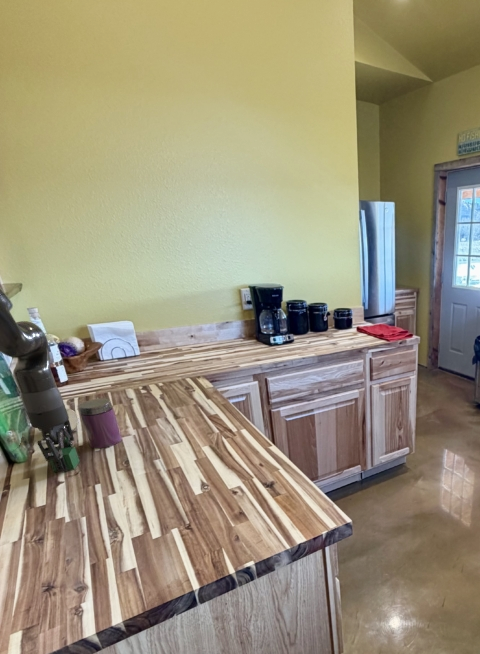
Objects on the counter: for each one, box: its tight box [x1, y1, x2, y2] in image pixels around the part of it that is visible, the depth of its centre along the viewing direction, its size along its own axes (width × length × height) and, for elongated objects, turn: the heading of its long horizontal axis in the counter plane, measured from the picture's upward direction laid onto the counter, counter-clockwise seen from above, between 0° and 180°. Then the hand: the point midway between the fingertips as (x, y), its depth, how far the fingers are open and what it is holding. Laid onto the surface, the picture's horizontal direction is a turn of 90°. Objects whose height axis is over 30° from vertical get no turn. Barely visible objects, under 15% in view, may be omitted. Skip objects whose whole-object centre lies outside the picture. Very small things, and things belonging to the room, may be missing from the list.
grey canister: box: [38, 407, 80, 433], centre depth 128 cm, size 11×8×8 cm
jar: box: [79, 406, 123, 449], centre depth 119 cm, size 8×8×12 cm
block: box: [49, 446, 80, 473], centre depth 108 cm, size 4×4×4 cm
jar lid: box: [78, 398, 113, 415], centre depth 117 cm, size 8×8×2 cm
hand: (66, 464), depth 109 cm, fingers open, 5 cm apart
